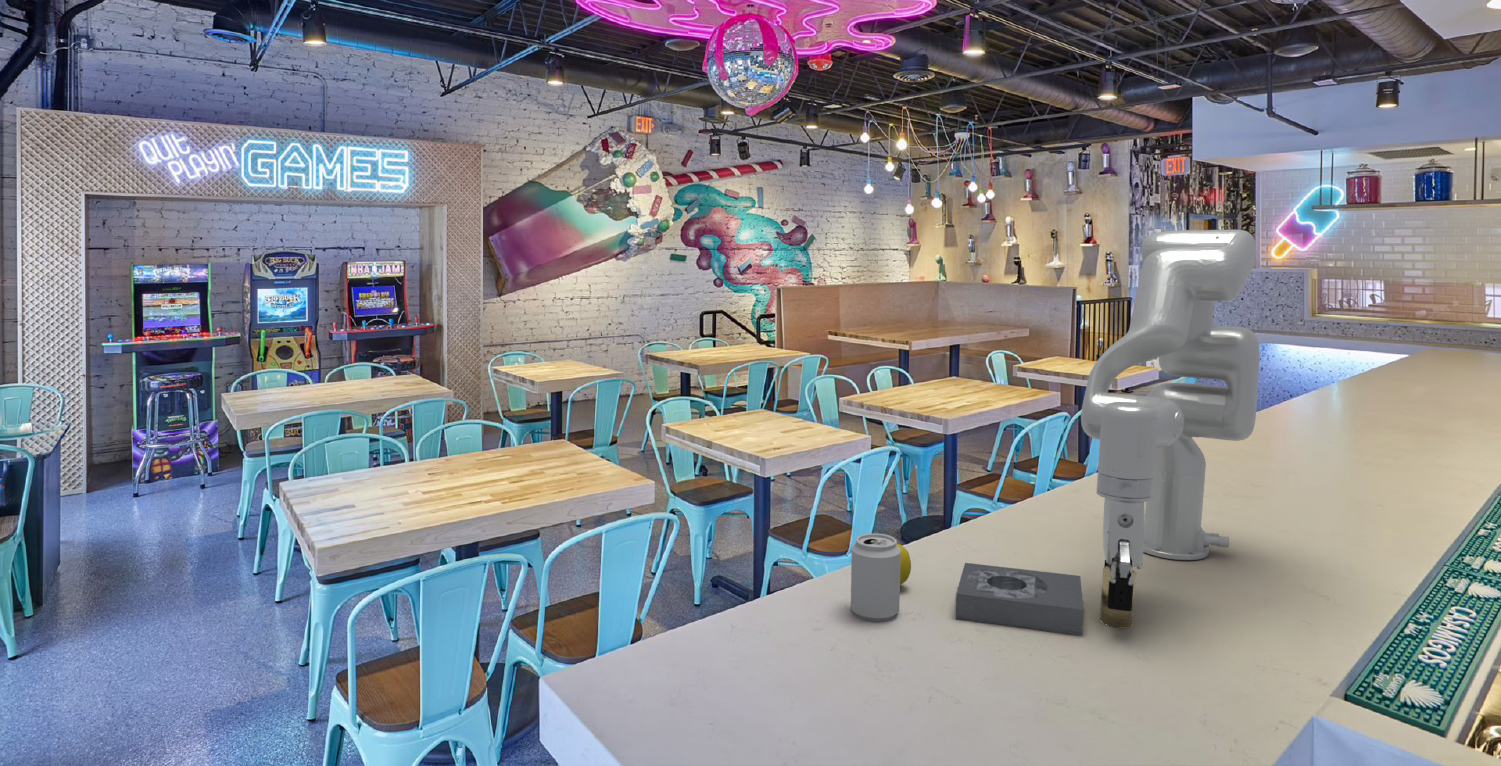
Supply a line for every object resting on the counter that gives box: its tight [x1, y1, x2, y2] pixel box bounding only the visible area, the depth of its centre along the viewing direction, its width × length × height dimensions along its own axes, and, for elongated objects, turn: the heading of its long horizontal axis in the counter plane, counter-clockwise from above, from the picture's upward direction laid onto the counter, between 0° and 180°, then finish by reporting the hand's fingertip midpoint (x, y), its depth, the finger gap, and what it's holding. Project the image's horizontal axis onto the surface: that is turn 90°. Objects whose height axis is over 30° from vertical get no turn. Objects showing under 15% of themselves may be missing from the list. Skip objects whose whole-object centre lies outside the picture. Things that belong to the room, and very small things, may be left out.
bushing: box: [1099, 566, 1137, 628], centre depth 127 cm, size 4×4×8 cm
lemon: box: [896, 542, 912, 586], centre depth 140 cm, size 6×6×8 cm
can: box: [850, 533, 901, 622], centre depth 130 cm, size 8×8×12 cm
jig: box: [954, 562, 1084, 637], centre depth 132 cm, size 18×14×4 cm
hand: (1116, 597), depth 126 cm, fingers open, 9 cm apart
